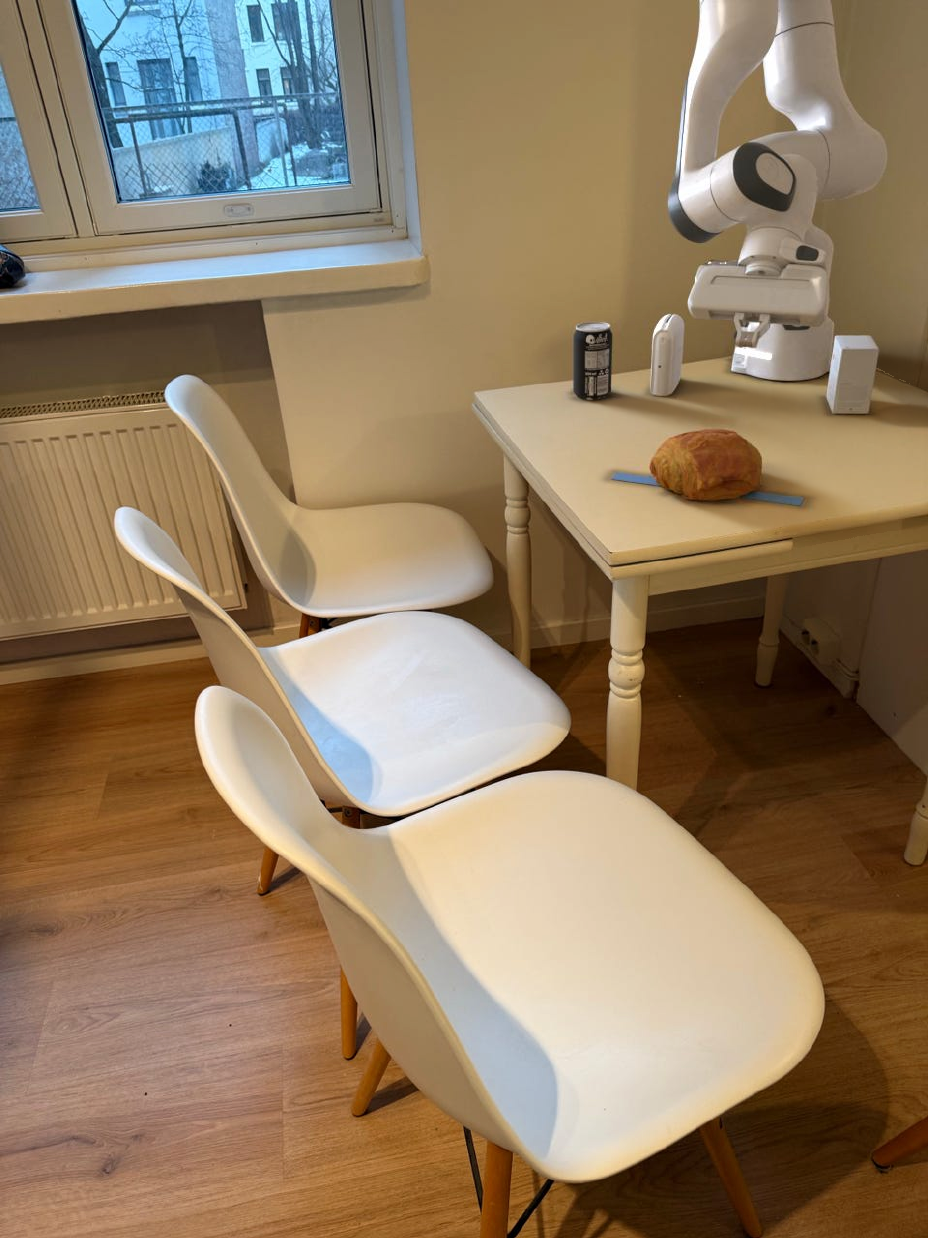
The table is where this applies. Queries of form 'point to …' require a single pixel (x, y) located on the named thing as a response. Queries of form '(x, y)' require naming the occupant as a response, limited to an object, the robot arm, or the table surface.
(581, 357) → the beverage can
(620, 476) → the tape line
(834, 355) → the small box
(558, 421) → the table surface
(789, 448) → the table surface
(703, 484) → the croissant
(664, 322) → the photo printer
